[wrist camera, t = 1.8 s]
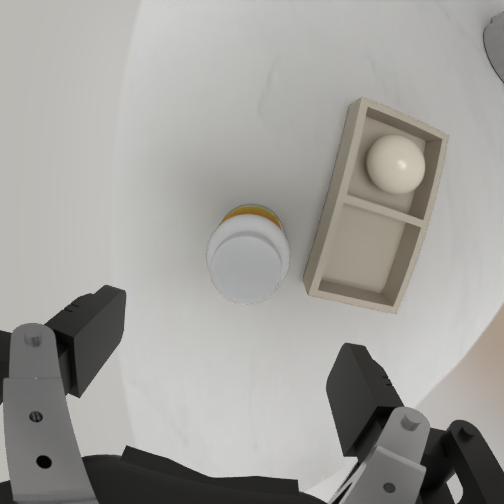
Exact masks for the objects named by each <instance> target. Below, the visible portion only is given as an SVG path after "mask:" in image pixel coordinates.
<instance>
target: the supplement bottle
mask: <svg viewBox="0 0 504 504" xmlns="http://www.w3.org/2000/svg"><path fill="white" fill-rule="evenodd" d="M206 259H207V265H208V269H209V272H210V274H211V279H212V281H213V284H214V286H215V287H216V289H217V290H218V291H219V293H220V294H221V295H223V296H224V297H225V298H227V299H228V300H230V301H233V302H235V303H239V304H254V303H258V302H261V301H263V300H265V299H267V298H268V297H269V296H271V295H272V294H273V293H274V292H275V290H276V289H277V287H278V286H279V283H280V282H281V281H282V280H283V278H284V277H285V275H286V273H287V271H288V268H289V263H290V249H289V244H288V241H287V238H286V236H285V233H284V230H283V227H282V225H281V222H280V221H279V219H278V218H277V216H276V215H275V214H274V213H273V212H272V211H270V210H269V209H267V208H265V207H263V206H260V205H256V204H247V205H242V206H239V207H237V208H235V209H233V210H232V211H230V212H229V213H228V214H227V215H226V216H225V218H224V219H223V221H222V222H221V223H220V225H219V226H218V227H217V229H216V230H215V231H214V233H213V234H212V236H211V238H210V240H209V243H208V246H207V253H206Z"/></svg>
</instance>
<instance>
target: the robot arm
mask: <svg viewBox="0 0 504 504" xmlns="http://www.w3.org/2000/svg"><path fill="white" fill-rule="evenodd" d="M491 19H492V23H491V24H490V25H488V26H487V27H486V29H485V32H484V43H485V48H486V51H487V54H488V57H489V59H490V61H491V63H492V65H493V67H494V69H495V71H496V72H497V74H498V75H499V76H500V78H501V79H502V80H503V81H504V12H502V13H500V14H498V15H496V16H494V17H492V18H491ZM125 305H126V292H125V290H122V289H119V288H115V287H112V286H109V285H105V286H103V287H102V288H101V289H99V290H98V291H97V292H96V293H95V294H91V293H89V294H86V295H84V296H80V297H78V298H77V299H75V300H74V301H73V302H72V303H71V304H70V305H68V306H67V307H65V308H64V310H61V311H60V312H59V313H58V314H56V316H54V317H53V318H52V319H50V320H49V321H48V322H47V323H45V324H44V325H42V324H38V323H28V324H24V325H20V326H19V327H17V328H16V329H15V330H14V331H13V333H9V332H5V331H1V330H0V405H1V403H2V402H3V412H4V433H5V445H6V454H7V462H8V469H9V476H10V480H9V481H5V482H1V483H0V504H455V503H454V500H453V498H452V495H451V493H450V490H449V488H448V486H447V483H446V482H447V481H448V480H449V479H450V478H451V477H452V476H453V475H454V474H455V473H456V474H457V476H458V478H459V481H460V483H461V485H462V487H463V496H462V498H461V500H460V502H459V503H457V504H504V472H503V470H502V468H501V467H500V465H499V463H498V461H497V460H496V458H495V456H494V455H493V453H492V451H491V450H490V448H489V446H488V444H487V443H486V441H485V440H484V438H483V437H482V435H481V433H480V432H479V430H478V429H477V428H476V427H475V426H474V425H472V424H471V423H469V422H467V421H464V420H455V421H453V422H452V423H451V424H450V426H449V427H448V428H447V430H446V431H443V430H439V429H434V428H430V424H429V421H428V420H427V418H426V417H425V416H424V415H423V414H422V413H420V412H419V411H417V410H415V409H413V408H410V407H405V406H404V405H403V403H402V401H401V399H400V397H399V395H398V394H397V392H396V390H395V388H394V386H392V383H391V381H390V379H388V376H387V374H386V372H385V370H384V369H383V368H382V367H381V366H380V365H379V364H378V363H377V362H376V361H375V360H373V359H372V358H371V356H370V354H369V352H368V350H367V349H366V347H365V346H363V345H356V344H350V343H345V344H343V346H342V347H341V349H340V352H339V354H338V356H337V359H336V361H335V363H334V365H333V367H332V370H331V372H330V374H329V376H328V379H327V384H326V392H327V396H328V399H329V403H330V407H331V410H332V414H333V418H334V422H335V425H336V429H337V433H338V437H339V441H340V444H341V448H342V452H343V456H344V457H357V459H358V461H357V462H356V464H355V465H354V466H353V467H352V469H351V471H350V472H349V474H348V475H347V477H346V478H345V480H344V481H343V482H342V484H341V485H340V487H339V488H338V489H337V491H336V492H335V494H334V495H333V497H332V498H331V499H330V500H329V502H328V503H326V502H324V501H322V500H321V499H318V498H316V497H314V496H312V495H309V494H306V493H304V492H300V491H299V488H298V480H294V479H281V478H270V477H261V476H249V477H226V478H213V477H208V476H206V475H203V474H201V473H199V472H196V471H194V470H192V469H189V468H187V467H185V466H183V465H181V464H179V463H177V462H174V461H172V460H170V459H168V458H165V457H162V456H158V455H155V454H151V453H148V452H145V451H142V450H139V449H136V448H133V447H130V446H126V447H125V450H124V452H123V454H122V456H119V455H91V456H85V457H81V455H80V452H79V448H78V445H77V442H76V438H75V434H74V431H73V427H72V423H71V419H70V415H69V411H68V407H67V402H66V397H65V396H66V395H67V394H68V393H69V394H71V395H74V396H76V397H78V398H80V397H81V395H82V394H83V392H84V391H85V390H86V388H87V387H88V385H89V384H90V383H91V381H92V380H93V379H94V377H95V376H96V374H97V373H98V371H99V370H100V369H101V368H102V366H103V365H104V363H105V362H106V361H107V359H108V358H109V357H110V355H111V354H112V353H113V351H114V350H115V349H116V347H117V346H118V345H119V343H120V341H121V339H122V335H123V331H124V319H125Z"/></svg>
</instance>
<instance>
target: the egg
mask: <svg viewBox="0 0 504 504" xmlns="http://www.w3.org/2000/svg"><path fill="white" fill-rule="evenodd" d="M367 170H368V174H369V176H370V178H371V180H372V181H373V183H374V184H375V185H376V186H377V187H378V188H379V189H381V190H382V191H384V192H386V193H389V194H392V195H403V194H407V193H409V192H411V191H413V190H414V189H416V188H417V187H418V186H419V184H420V183H421V181H422V179H423V177H424V174H425V159H424V156H423V153H422V151H421V150H420V148H419V147H418V145H417V144H416V143H415V142H414V141H412V140H411V139H409V138H408V137H406V136H403V135H399V134H389V135H385V136H383V137H381V138H379V139H378V140H376V141H375V142H374V143H373V145H372V146H371V147H370V149H369V152H368V155H367Z"/></svg>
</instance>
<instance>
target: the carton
mask: <svg viewBox="0 0 504 504" xmlns="http://www.w3.org/2000/svg"><path fill="white" fill-rule="evenodd" d="M389 134H399V135H403V136H406V137H408V138H409V139H411V140H412V141H414V142H415V143H416V144H417V145H418V147H419V148H420V150H421V151H422V153H423V156H424V159H425V174H424V177H423V179H422V181H421V183H420V184H419V186H418V187H417V188H416V189H414V190H413V191H411V192H409V193H407V194H403V195H392V194H389V193H386V192H384V191H382V190H381V189H379V188H378V187H377V186H376V185H375V184H374V183H373V181H372V180H371V178H370V176H369V174H368V170H367V155H368V152H369V149H370V147H371V146H372V145H373V143H374V142H375V141H376V140H378V139H379V138H381V137H383V136H385V135H389ZM448 139H449V135H447V134H445V133H443V132H442V131H440V130H438V129H436V128H434V127H431V126H429V125H427V124H425V123H423V122H421V121H419V120H417V119H415V118H412V117H410V116H408V115H406V114H403V113H401V112H399V111H396V110H394V109H391V108H389V107H387V106H384V105H382V104H379V103H377V102H374V101H371V100H369V99H366V98H363V97H361V98H360V99H358V100H357V101H355V102H354V103H352V104H351V105H350V106H349V109H348V114H347V118H346V122H345V127H344V131H343V135H342V139H341V143H340V147H339V152H338V156H337V160H336V164H335V167H334V171H333V175H332V179H331V183H330V187H329V190H328V194H327V198H326V202H325V205H324V209H323V212H322V216H321V220H320V223H319V227H318V230H317V234H316V237H315V241H314V244H313V247H312V251H311V254H310V257H309V261H308V264H307V267H306V271H305V274H304V277H303V282H304V285H305V288H306V291H307V294H308V295H309V296H313V297H318V298H322V299H327V300H331V301H336V302H340V303H345V304H350V305H354V306H359V307H364V308H369V309H373V310H378V311H383V312H388V313H393V314H397V311H398V309H399V307H400V304H401V302H402V299H403V297H404V294H405V292H406V289H407V286H408V284H409V281H410V278H411V276H412V273H413V270H414V267H415V264H416V262H417V259H418V256H419V253H420V250H421V247H422V244H423V240H424V237H425V234H426V231H427V227H428V224H429V221H430V217H431V214H432V210H433V206H434V202H435V199H436V195H437V191H438V187H439V183H440V178H441V174H442V169H443V165H444V160H445V155H446V150H447V144H448Z"/></svg>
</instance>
